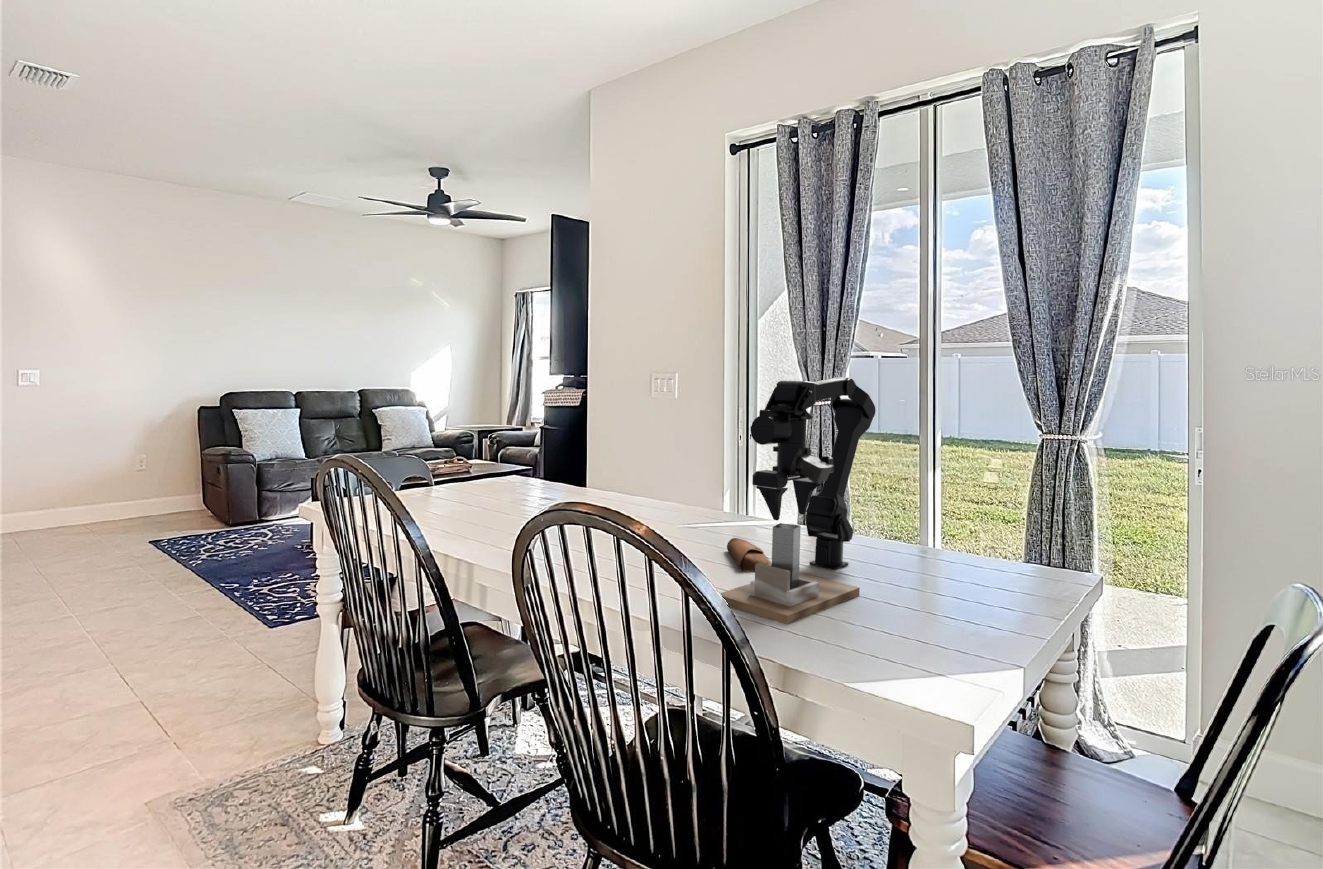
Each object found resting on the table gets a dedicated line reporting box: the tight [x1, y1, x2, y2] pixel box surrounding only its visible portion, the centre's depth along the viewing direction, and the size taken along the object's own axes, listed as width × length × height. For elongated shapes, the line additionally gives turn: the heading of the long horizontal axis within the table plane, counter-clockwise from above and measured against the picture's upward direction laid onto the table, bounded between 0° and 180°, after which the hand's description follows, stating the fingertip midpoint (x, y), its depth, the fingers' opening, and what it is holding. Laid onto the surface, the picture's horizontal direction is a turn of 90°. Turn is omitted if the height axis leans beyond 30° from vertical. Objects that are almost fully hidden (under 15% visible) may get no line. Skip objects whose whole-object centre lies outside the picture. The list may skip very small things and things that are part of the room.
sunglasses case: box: [726, 537, 772, 572], centre depth 164 cm, size 18×7×7 cm, turn 4°
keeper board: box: [720, 563, 861, 625], centre depth 136 cm, size 24×16×8 cm, turn 135°
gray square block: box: [771, 522, 801, 590], centre depth 133 cm, size 4×4×13 cm
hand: (789, 517), depth 148 cm, fingers open, 9 cm apart
